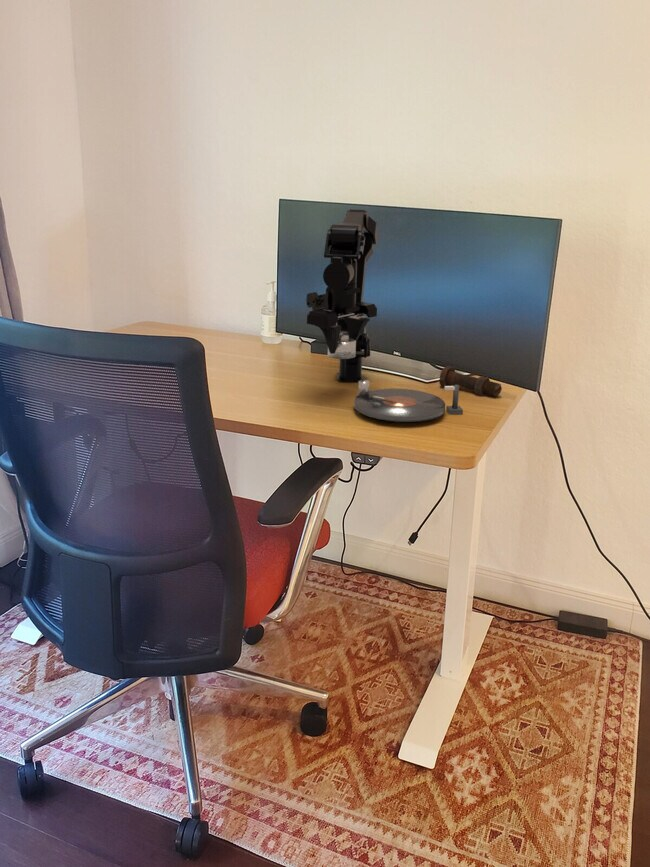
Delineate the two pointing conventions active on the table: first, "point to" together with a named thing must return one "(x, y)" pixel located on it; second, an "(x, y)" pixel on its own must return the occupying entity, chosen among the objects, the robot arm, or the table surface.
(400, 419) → the turntable
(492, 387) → the bolt
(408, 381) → the table surface
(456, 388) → the dial pointer
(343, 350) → the cap
